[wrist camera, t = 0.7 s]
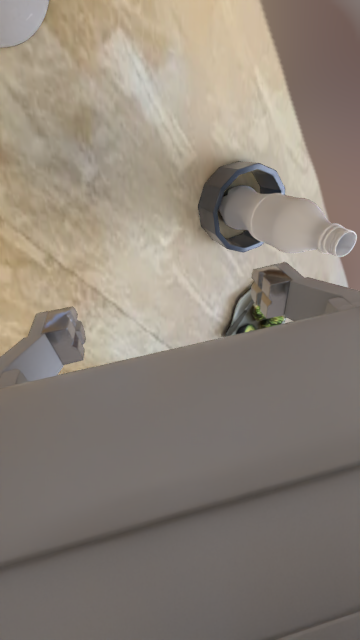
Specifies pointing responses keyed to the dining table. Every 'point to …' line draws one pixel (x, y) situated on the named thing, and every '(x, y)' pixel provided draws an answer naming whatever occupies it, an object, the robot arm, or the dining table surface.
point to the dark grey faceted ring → (215, 192)
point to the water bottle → (285, 222)
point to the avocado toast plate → (250, 317)
